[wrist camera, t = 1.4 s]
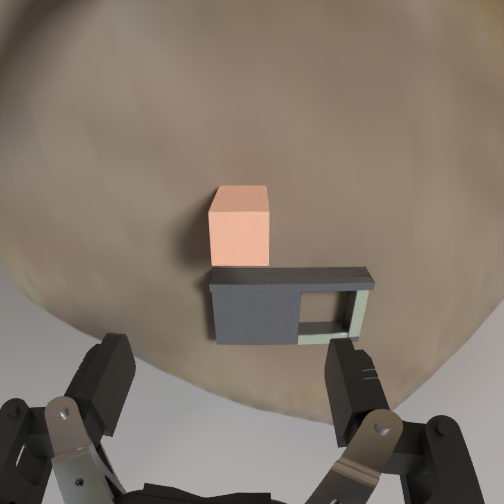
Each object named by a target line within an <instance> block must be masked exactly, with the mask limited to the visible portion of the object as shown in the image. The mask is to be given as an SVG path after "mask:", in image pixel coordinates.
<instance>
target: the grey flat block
mask: <svg viewBox="0 0 504 504" xmlns="http://www.w3.org/2000/svg"><path fill="white" fill-rule="evenodd" d="M374 285H375V282H374V280H373V278H372V277H371V275H370V273H369V272H368V270H367V268H366V267H331V268H213V270H212V275H211V279H210V283H209V289H210V292H212V302H213V312H214V323H215V333H216V343H217V344H221V345H286V344H298V345H301V344H326V343H329V342H330V339H331V338H348V337H349V338H350V339H351V341H352V342H354V341H358V338H359V334H360V330H361V326H362V321H363V317H364V312H365V308H366V303H367V298H368V294H369V290H374ZM322 291H350V292H349V298H348V304H347V309H346V315H345V320H344V321H337V322H309V323H299V313H300V302H301V292H322Z"/></svg>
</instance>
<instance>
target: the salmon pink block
mask: <svg viewBox="0 0 504 504" xmlns="http://www.w3.org/2000/svg"><path fill="white" fill-rule="evenodd" d="M208 215H209V231H210V246H211V260H212V266H269V205H268V197H267V189H266V185H258V186H219V188H218V191H217V193H216V195H215V198H214V200H213V202H212V205H211V207H210V209H209V212H208Z"/></svg>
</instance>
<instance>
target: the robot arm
mask: <svg viewBox="0 0 504 504" xmlns="http://www.w3.org/2000/svg"><path fill="white" fill-rule="evenodd" d="M135 370H136V365H135V360H134V357H133V354H132V350H131V347H130V344H129V341H128V338H127V336H126V335H125V334H117V333H107V334H106V336H105V337H104V339H103V341H102V343H101V344H96V345H95V346H94V347H92V348H91V349H90V350H89V351H88V352H87V354H86V356H85V357H84V359H83V362H82V363H81V365H80V366H79V370H77V372H76V374H75V376H74V377H73V379H72V381H71V383H70V385H69V387H68V389H67V391H66V393H65V395H64V396H63V397H57V398H55V399H53V400H51V401H50V402H49V403H48V405H47V406H46V407H33V408H29V407H28V405H27V404H26V403H25V401H24V400H22V399H19V398H14V399H10V400H8V401H7V402H6V403H4V404H3V406H2V407H1V409H0V504H41V503H42V499H43V496H44V492H45V489H46V486H47V483H48V479H49V476H50V473H51V470H52V467H53V470H54V473H55V476H56V479H57V482H58V485H59V488H60V491H61V494H62V497H63V500H64V502H65V504H286V503H284V502H280V501H277V500H272V499H271V493H234V494H228V495H222V496H216V497H209V498H205V497H200V496H197V495H194V494H191V493H188V492H185V491H182V490H180V489H177V488H174V487H167V486H161V485H154V484H148V483H145V484H144V488H143V490H136V491H131V492H128V493H127V492H126V491H125V489H124V488H123V486H122V484H121V483H120V481H119V480H118V478H117V476H116V474H115V472H114V470H113V468H112V465H111V463H110V461H109V459H108V457H107V454H106V452H105V450H104V448H103V445H102V443H101V442H100V441H101V438H102V435H106V436H110V437H113V434H114V431H115V428H116V425H117V422H118V419H119V416H120V414H121V411H122V408H123V405H124V402H125V400H126V397H127V394H128V392H129V389H130V386H131V384H132V381H133V378H134V375H135ZM325 383H326V388H327V392H328V397H329V402H330V407H331V413H332V418H333V423H334V428H335V434H336V439H337V444H338V447H347V448H346V450H345V451H344V453H343V454H342V456H341V457H340V459H339V460H338V461H336V462H335V464H334V465H333V466H332V468H331V469H330V470H329V472H328V473H327V475H326V476H325V477H324V479H323V480H322V481H321V483H320V484H319V486H318V487H317V488H316V490H315V491H314V492H313V494H312V495H311V496H310V497H309V499H308V500H307V501H306V503H305V504H366V503H367V501H368V499H369V498H370V496H371V494H372V492H373V491H374V489H375V487H376V486H377V484H378V482H379V477H380V475H381V473H386V474H398V475H400V480H401V485H402V490H403V495H404V501H405V504H485V503H484V499H483V496H482V493H481V489H480V486H479V483H478V479H477V476H476V473H475V470H474V467H473V464H472V461H471V458H470V455H469V452H468V449H467V446H466V444H465V441H464V438H463V435H462V433H461V430H460V427H459V425H458V424H457V423H456V421H455V420H453V419H452V418H450V417H448V416H444V415H438V416H435V417H433V418H431V419H430V420H429V421H428V422H427V424H423V423H412V422H406V421H403V420H401V418H400V417H399V416H398V415H397V414H396V413H394V412H392V411H391V410H390V408H389V406H388V403H387V400H386V397H385V394H384V392H383V389H382V386H381V383H380V380H379V379H378V375H377V372H376V370H375V367H374V364H373V362H372V359H371V357H370V356H369V355H368V354H367V353H366V352H365V351H364V350H355V349H354V346H353V344H352V341H351V339H350V338H349V337H348V338H331V339H330V342H329V347H328V353H327V358H326V363H325ZM22 446H24V449H23V452H22V454H21V457H20V459H19V462H18V465H17V467H16V462H17V459H18V456H19V454H20V451H21V449H22Z"/></svg>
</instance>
